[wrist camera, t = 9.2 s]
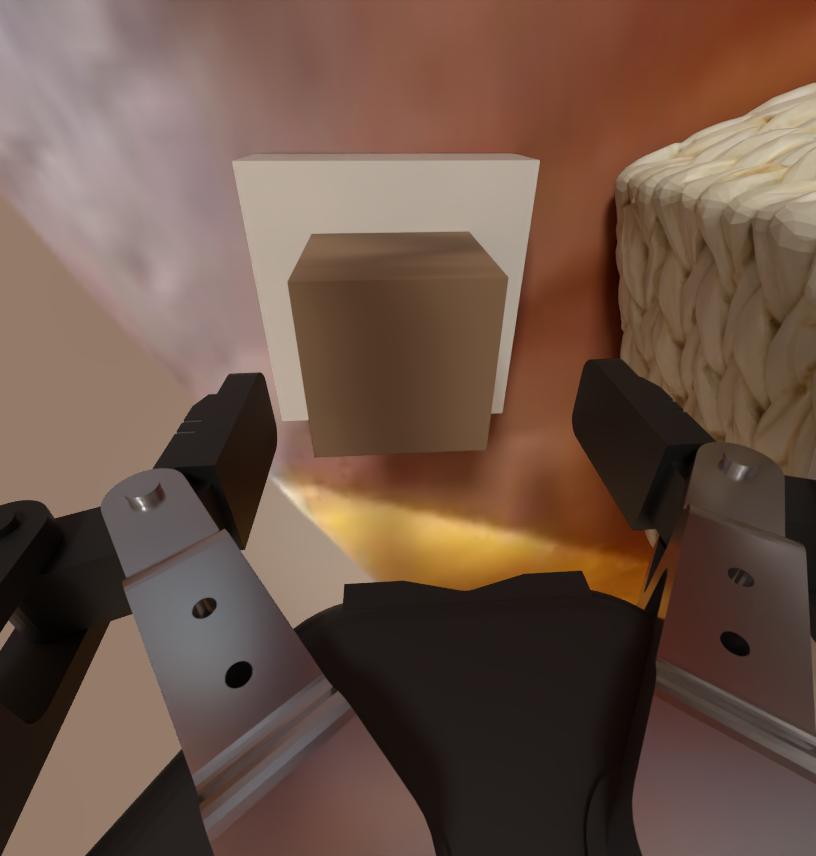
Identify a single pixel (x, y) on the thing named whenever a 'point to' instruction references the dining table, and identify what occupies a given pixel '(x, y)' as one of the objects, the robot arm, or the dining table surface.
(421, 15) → the dining table surface
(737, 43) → the dining table surface
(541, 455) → the dining table surface
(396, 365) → the walnut cube
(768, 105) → the storage basket
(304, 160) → the white flat block
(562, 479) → the dining table surface
